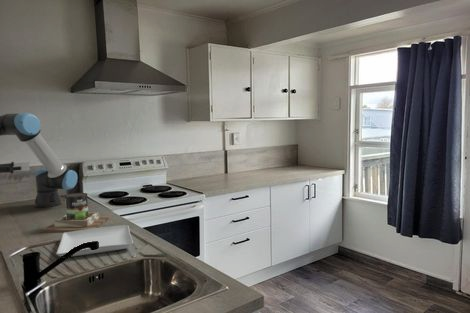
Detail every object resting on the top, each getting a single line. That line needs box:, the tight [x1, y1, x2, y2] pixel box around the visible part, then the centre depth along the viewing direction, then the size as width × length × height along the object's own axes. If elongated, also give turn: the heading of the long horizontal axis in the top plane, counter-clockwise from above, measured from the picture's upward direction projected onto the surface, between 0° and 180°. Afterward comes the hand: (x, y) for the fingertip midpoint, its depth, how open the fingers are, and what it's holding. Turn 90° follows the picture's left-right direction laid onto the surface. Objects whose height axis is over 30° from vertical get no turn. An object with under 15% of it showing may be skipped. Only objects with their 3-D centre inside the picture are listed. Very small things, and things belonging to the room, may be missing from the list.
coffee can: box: [64, 192, 89, 220], centre depth 178 cm, size 10×10×14 cm
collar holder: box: [40, 211, 112, 233], centre depth 178 cm, size 24×24×4 cm
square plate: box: [55, 224, 134, 258], centre depth 148 cm, size 27×27×4 cm
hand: (29, 166), depth 174 cm, fingers open, 13 cm apart
